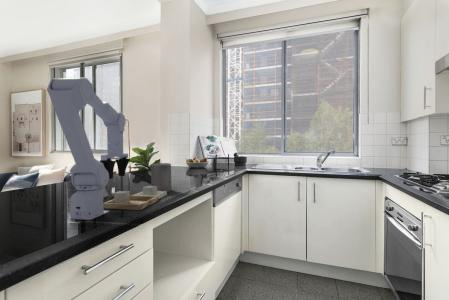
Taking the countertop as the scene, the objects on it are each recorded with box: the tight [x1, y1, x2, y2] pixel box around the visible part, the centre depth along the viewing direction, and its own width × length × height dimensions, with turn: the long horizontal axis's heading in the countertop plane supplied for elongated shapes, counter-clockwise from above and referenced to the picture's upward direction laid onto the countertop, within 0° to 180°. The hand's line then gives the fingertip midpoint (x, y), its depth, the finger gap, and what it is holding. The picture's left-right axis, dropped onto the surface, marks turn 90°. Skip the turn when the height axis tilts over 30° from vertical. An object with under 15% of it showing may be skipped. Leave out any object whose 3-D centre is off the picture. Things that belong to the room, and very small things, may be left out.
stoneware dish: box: [131, 190, 168, 200], centre depth 104 cm, size 11×11×2 cm
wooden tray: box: [103, 194, 159, 211], centre depth 92 cm, size 14×15×2 cm
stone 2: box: [142, 185, 157, 196], centre depth 104 cm, size 4×4×4 cm
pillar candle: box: [150, 162, 172, 193], centre depth 119 cm, size 10×10×15 cm
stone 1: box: [113, 190, 131, 204], centre depth 92 cm, size 4×4×4 cm
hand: (115, 177), depth 95 cm, fingers open, 7 cm apart
